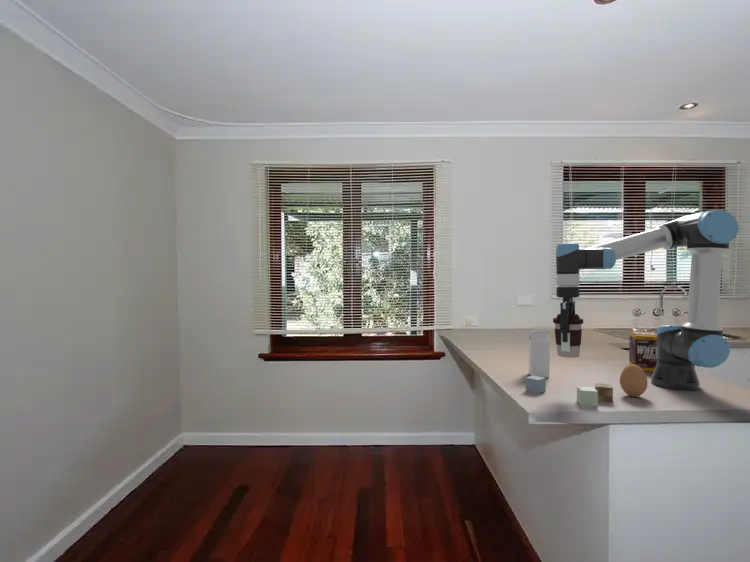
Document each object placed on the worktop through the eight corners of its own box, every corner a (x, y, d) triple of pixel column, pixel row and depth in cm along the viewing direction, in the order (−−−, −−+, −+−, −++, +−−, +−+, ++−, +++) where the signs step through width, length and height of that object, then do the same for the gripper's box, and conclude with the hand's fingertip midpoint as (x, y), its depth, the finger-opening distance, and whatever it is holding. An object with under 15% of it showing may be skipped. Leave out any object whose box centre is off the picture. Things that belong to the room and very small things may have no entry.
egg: (636, 401, 144) (637, 367, 144) (614, 394, 152) (614, 363, 152) (652, 398, 148) (653, 365, 148) (630, 392, 155) (630, 361, 155)
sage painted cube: (592, 402, 144) (592, 387, 144) (597, 406, 139) (597, 391, 139) (576, 401, 145) (576, 386, 145) (581, 405, 140) (581, 390, 140)
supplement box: (634, 370, 189) (635, 335, 189) (628, 363, 204) (629, 330, 203) (662, 372, 185) (662, 336, 185) (654, 365, 200) (654, 331, 199)
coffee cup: (547, 354, 156) (546, 313, 156) (567, 352, 160) (566, 312, 160) (569, 359, 147) (568, 316, 147) (590, 357, 151) (589, 314, 151)
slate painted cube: (545, 391, 157) (545, 377, 157) (538, 394, 154) (538, 380, 154) (532, 388, 161) (532, 375, 161) (525, 391, 157) (525, 377, 157)
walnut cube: (611, 398, 148) (611, 384, 147) (612, 402, 143) (612, 388, 143) (595, 397, 150) (595, 382, 150) (595, 401, 145) (595, 386, 145)
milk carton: (549, 378, 176) (549, 331, 176) (531, 377, 178) (531, 331, 177) (546, 373, 183) (546, 329, 183) (528, 373, 185) (528, 329, 184)
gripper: (562, 285, 164) (563, 343, 165) (549, 287, 147) (550, 353, 147) (584, 285, 160) (584, 345, 160) (573, 287, 142) (574, 355, 143)
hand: (568, 349), depth 154 cm, fingers closed on coffee cup, 9 cm apart
